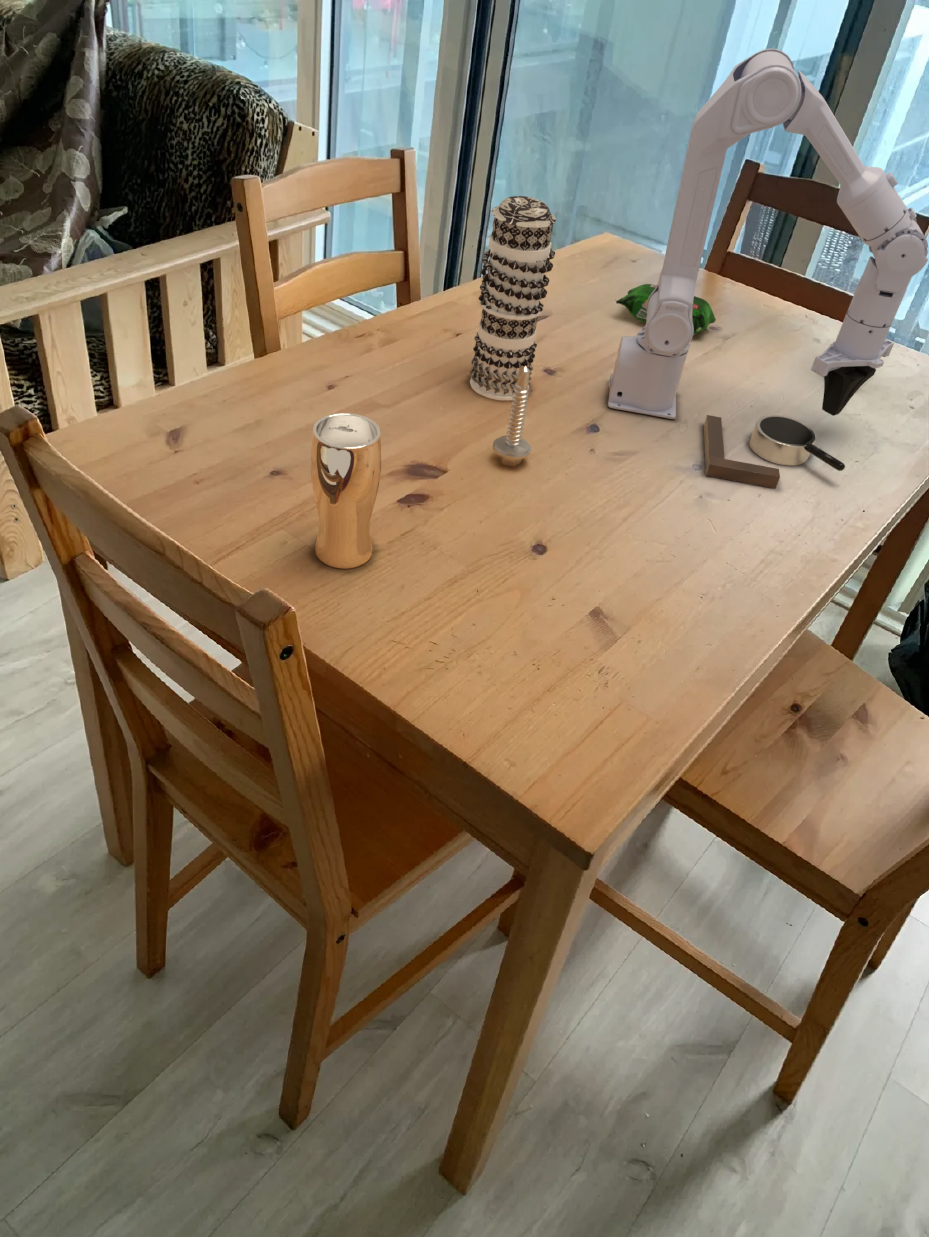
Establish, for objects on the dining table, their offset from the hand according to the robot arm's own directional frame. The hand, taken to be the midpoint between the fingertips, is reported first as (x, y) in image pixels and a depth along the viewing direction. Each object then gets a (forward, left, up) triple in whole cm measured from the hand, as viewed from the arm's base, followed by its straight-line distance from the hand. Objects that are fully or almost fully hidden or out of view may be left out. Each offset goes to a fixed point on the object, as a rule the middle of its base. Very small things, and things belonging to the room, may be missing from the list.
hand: (830, 411), depth 128 cm
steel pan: (-4, -9, -4) cm, 10 cm away
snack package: (-23, +28, -4) cm, 37 cm away
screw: (-42, -22, -4) cm, 47 cm away
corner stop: (-12, -10, -4) cm, 16 cm away
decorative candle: (-46, -3, -4) cm, 46 cm away
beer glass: (-57, -46, -4) cm, 73 cm away
